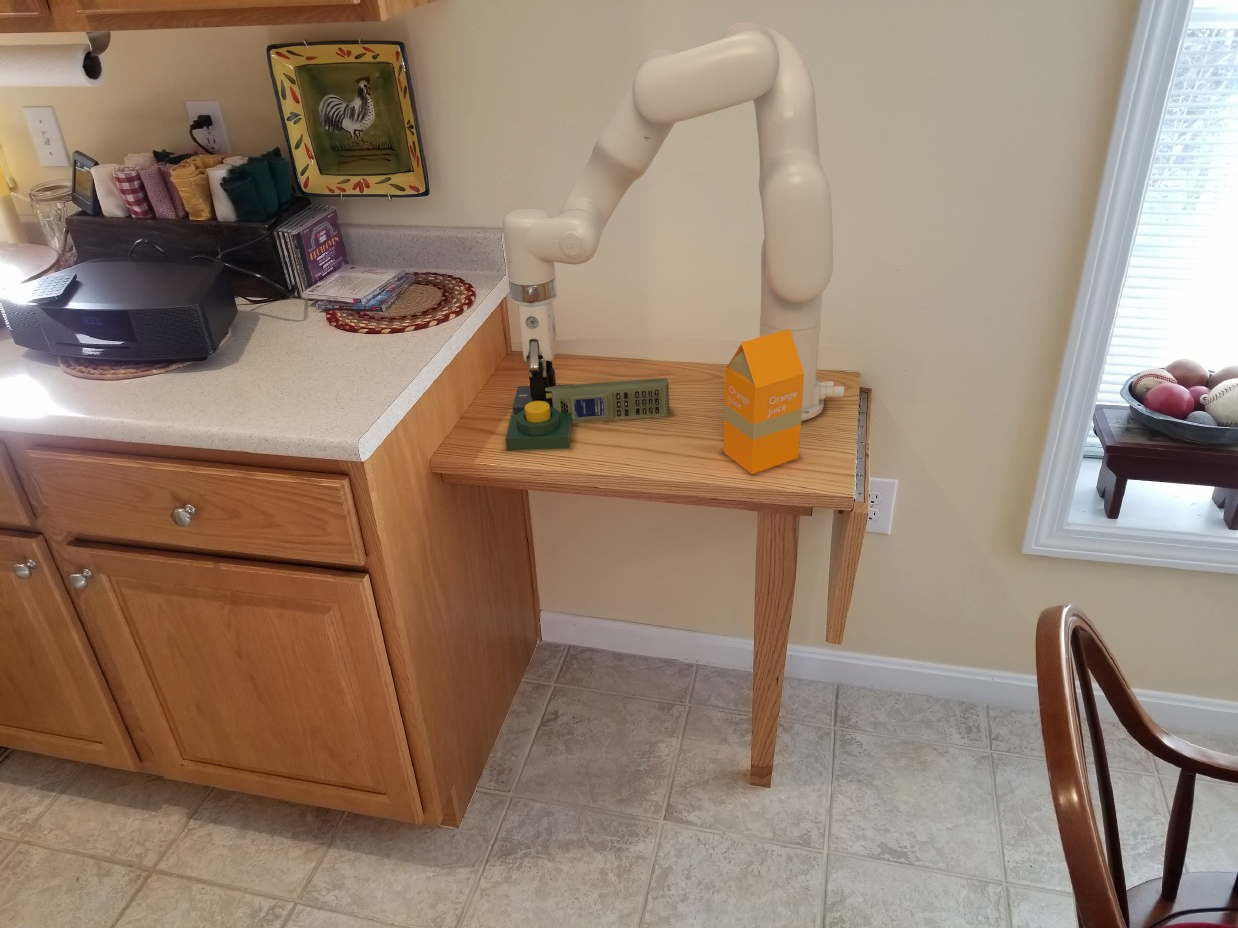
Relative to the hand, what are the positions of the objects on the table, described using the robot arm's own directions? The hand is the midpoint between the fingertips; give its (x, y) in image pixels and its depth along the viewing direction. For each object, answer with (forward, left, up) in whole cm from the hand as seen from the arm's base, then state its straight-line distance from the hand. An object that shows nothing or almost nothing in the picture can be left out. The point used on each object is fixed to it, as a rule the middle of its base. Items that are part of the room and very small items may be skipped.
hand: (542, 388), depth 155 cm
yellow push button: (0, +11, 0) cm, 11 cm away
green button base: (0, +11, -4) cm, 11 cm away
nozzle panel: (0, +1, -4) cm, 4 cm away
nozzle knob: (0, +1, -1) cm, 1 cm away
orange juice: (-35, +19, -4) cm, 40 cm away
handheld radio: (-9, +5, -4) cm, 11 cm away
